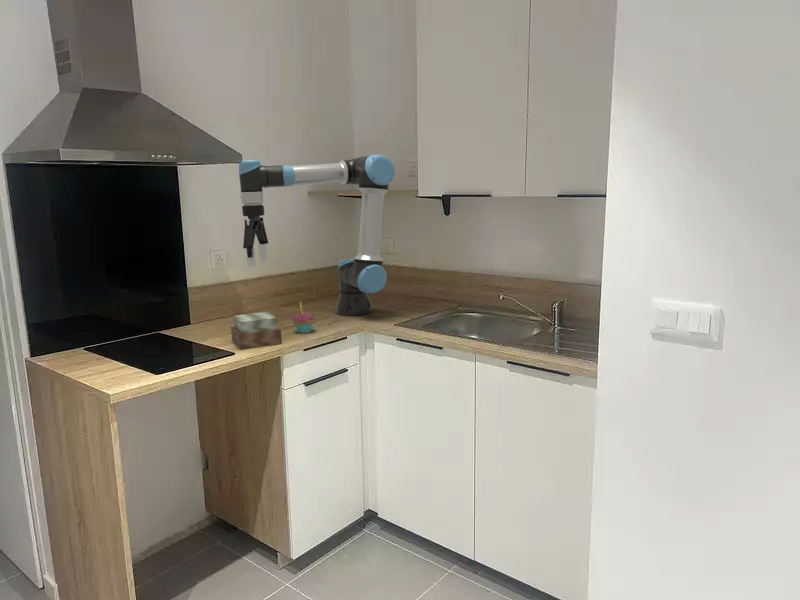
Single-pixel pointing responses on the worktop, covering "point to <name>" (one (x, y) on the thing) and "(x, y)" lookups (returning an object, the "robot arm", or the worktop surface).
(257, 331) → the block tower
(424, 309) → the worktop surface
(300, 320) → the cupcake
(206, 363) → the worktop surface
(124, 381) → the worktop surface
